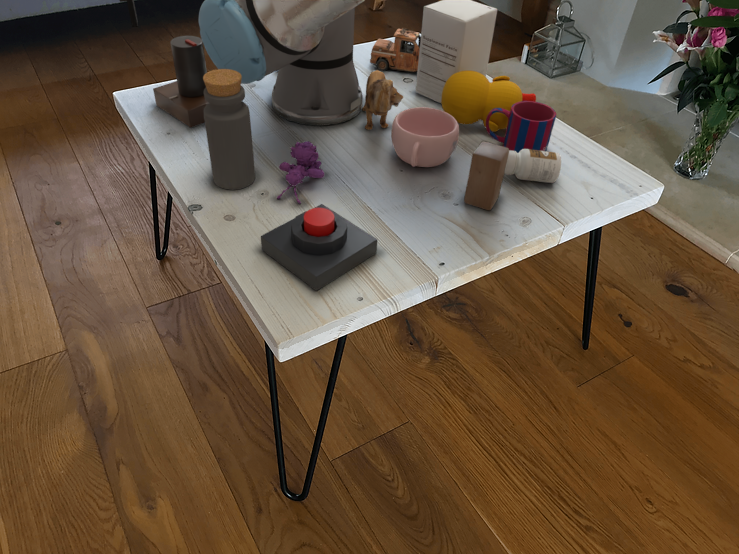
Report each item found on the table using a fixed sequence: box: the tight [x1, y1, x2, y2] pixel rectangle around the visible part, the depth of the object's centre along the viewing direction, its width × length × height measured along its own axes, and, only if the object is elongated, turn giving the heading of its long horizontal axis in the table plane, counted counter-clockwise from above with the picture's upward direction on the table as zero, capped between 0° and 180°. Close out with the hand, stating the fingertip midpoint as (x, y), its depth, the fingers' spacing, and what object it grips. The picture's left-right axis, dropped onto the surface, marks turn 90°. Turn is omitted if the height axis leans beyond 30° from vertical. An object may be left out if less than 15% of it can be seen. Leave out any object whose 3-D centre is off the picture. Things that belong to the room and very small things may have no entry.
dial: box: [169, 35, 208, 97], centre depth 95 cm, size 5×5×8 cm
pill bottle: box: [504, 149, 562, 184], centre depth 87 cm, size 4×4×8 cm
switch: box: [304, 207, 334, 237], centre depth 71 cm, size 4×4×2 cm
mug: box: [390, 106, 460, 168], centre depth 89 cm, size 12×10×6 cm
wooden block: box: [463, 140, 509, 211], centre depth 82 cm, size 4×4×8 cm
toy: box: [441, 70, 537, 133], centre depth 98 cm, size 9×9×15 cm
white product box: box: [414, 0, 498, 105], centre depth 103 cm, size 9×9×15 cm
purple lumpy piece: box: [276, 140, 325, 205], centre depth 83 cm, size 7×6×8 cm
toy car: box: [369, 27, 421, 74], centre depth 114 cm, size 6×12×7 cm, turn 84°
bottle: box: [203, 68, 256, 191], centre depth 80 cm, size 6×6×15 cm
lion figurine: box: [361, 69, 404, 131], centre depth 98 cm, size 15×5×9 cm, turn 11°
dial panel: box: [152, 80, 209, 129], centre depth 99 cm, size 10×9×3 cm
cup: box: [485, 101, 557, 153], centre depth 93 cm, size 7×10×7 cm
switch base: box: [260, 203, 378, 292], centre depth 73 cm, size 10×10×4 cm
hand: (182, 21), depth 91 cm, fingers open, 13 cm apart
